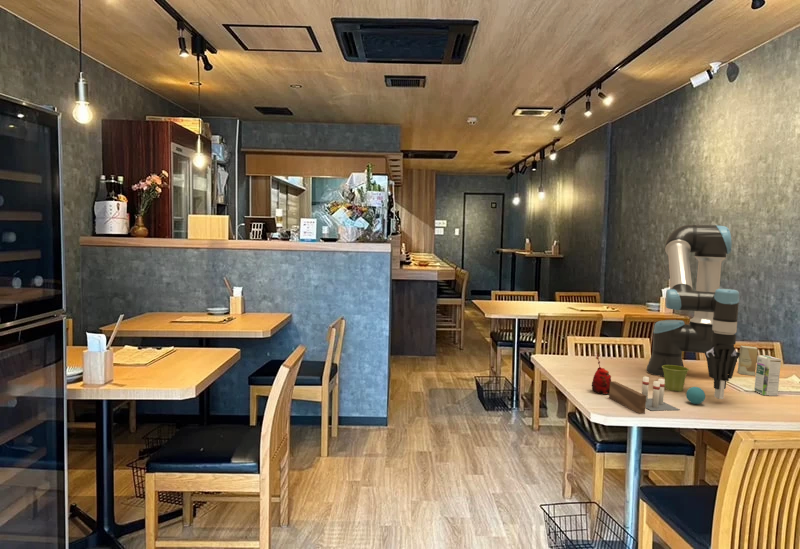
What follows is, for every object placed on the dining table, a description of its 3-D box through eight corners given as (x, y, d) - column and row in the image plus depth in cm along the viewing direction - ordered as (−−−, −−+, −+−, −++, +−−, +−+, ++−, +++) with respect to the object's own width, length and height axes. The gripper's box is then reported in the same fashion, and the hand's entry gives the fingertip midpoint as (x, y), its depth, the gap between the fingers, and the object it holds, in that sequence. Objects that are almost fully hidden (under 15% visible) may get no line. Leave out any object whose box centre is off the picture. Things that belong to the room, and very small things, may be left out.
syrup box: (753, 391, 218) (756, 355, 217) (767, 391, 218) (770, 355, 217) (764, 395, 212) (767, 358, 211) (778, 396, 213) (781, 358, 212)
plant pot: (676, 394, 210) (678, 371, 210) (655, 387, 219) (656, 365, 218) (692, 391, 215) (694, 369, 214) (670, 385, 223) (672, 364, 222)
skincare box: (739, 374, 247) (741, 346, 246) (737, 372, 251) (739, 345, 251) (755, 376, 245) (758, 348, 244) (753, 373, 249) (756, 346, 248)
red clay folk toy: (611, 396, 204) (613, 355, 203) (591, 393, 206) (593, 353, 205) (611, 391, 211) (613, 351, 210) (591, 388, 213) (593, 349, 212)
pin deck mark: (655, 398, 202) (655, 398, 202) (679, 410, 190) (680, 409, 190) (628, 399, 200) (628, 398, 200) (650, 410, 187) (651, 410, 187)
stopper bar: (614, 397, 202) (615, 381, 201) (644, 413, 184) (646, 395, 184) (609, 397, 202) (610, 381, 201) (639, 413, 184) (640, 395, 183)
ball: (696, 401, 202) (697, 384, 201) (708, 406, 196) (709, 389, 195) (681, 401, 200) (683, 384, 200) (693, 406, 194) (694, 389, 194)
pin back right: (645, 401, 199) (646, 376, 198) (648, 403, 197) (650, 377, 196) (639, 401, 198) (641, 376, 198) (643, 403, 196) (645, 377, 196)
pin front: (660, 403, 197) (662, 378, 196) (664, 405, 195) (666, 380, 194) (655, 403, 196) (657, 378, 196) (659, 405, 194) (660, 380, 193)
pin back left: (655, 406, 193) (657, 380, 192) (659, 408, 191) (661, 382, 190) (650, 406, 192) (652, 380, 192) (654, 408, 190) (656, 382, 190)
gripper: (731, 330, 203) (726, 394, 205) (700, 330, 200) (695, 395, 202) (748, 334, 196) (742, 400, 197) (715, 334, 193) (710, 401, 195)
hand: (718, 397), depth 200 cm, fingers closed
